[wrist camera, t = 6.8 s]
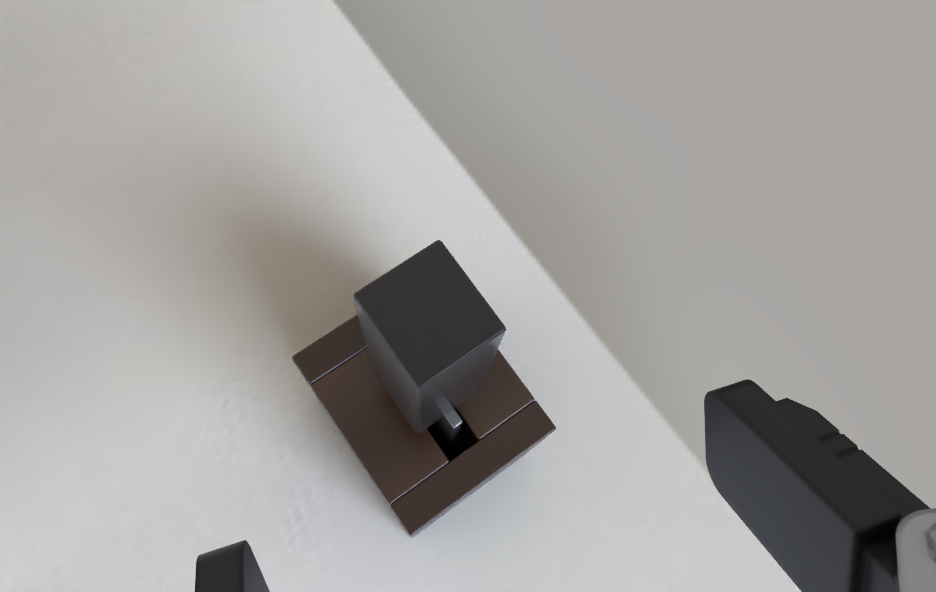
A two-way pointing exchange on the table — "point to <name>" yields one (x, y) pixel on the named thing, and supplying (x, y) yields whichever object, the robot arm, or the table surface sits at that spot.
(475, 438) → the knife block
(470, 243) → the table surface
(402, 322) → the knife
